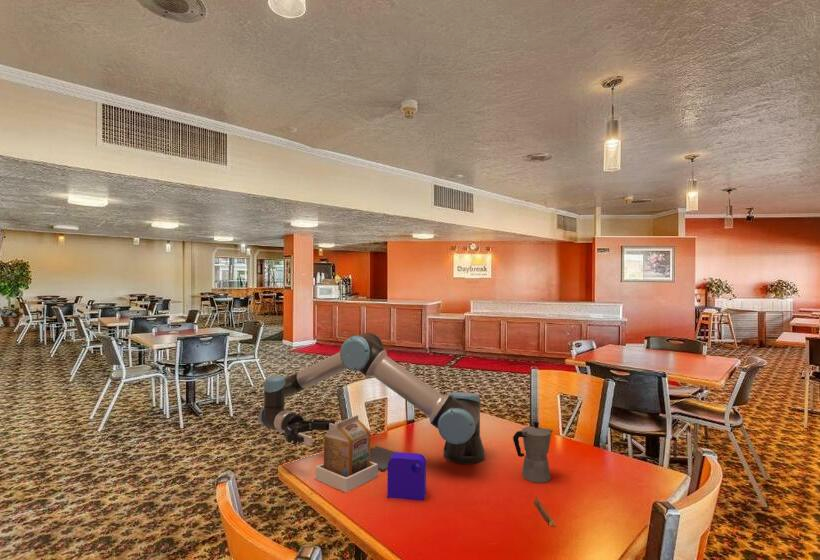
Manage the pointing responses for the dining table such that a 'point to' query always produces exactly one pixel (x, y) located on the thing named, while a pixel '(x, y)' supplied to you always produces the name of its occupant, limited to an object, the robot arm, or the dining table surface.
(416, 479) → the bracket
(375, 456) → the rubber mat
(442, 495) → the dining table surface
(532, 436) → the coffeepot
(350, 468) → the milk carton
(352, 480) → the carton holder
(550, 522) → the wooden stick
